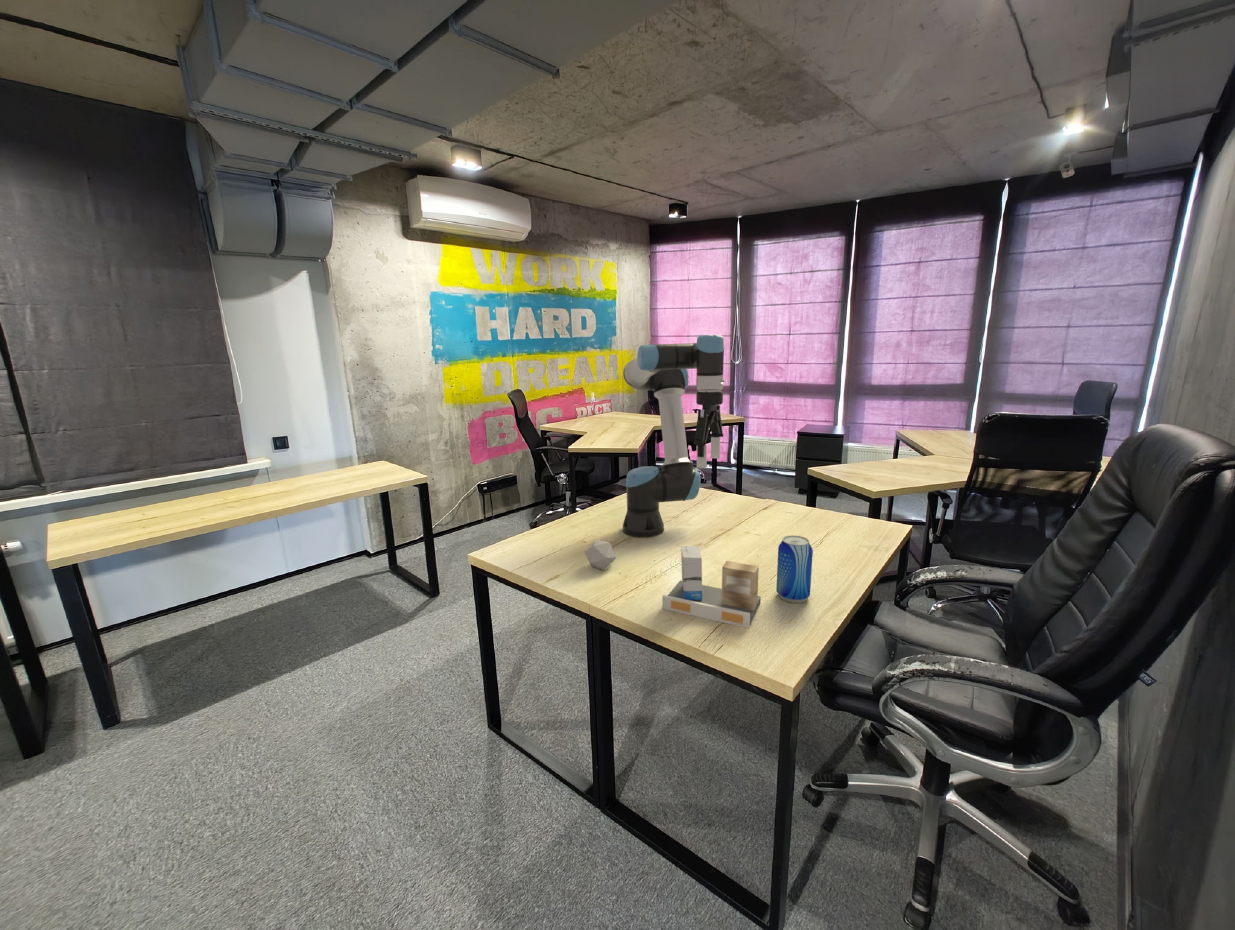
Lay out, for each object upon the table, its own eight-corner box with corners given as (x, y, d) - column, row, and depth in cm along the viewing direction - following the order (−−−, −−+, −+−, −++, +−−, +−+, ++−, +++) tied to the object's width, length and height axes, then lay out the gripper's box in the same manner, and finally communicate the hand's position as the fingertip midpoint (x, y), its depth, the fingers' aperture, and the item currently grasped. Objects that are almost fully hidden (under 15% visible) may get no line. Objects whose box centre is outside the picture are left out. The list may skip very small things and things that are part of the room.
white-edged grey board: (662, 609, 126) (661, 596, 126) (680, 587, 138) (680, 575, 137) (748, 628, 117) (749, 615, 116) (760, 603, 128) (760, 590, 127)
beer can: (771, 590, 135) (773, 535, 131) (801, 588, 135) (804, 533, 132) (783, 605, 126) (786, 547, 123) (815, 603, 127) (819, 545, 124)
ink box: (702, 601, 126) (702, 558, 123) (682, 600, 126) (682, 558, 124) (699, 585, 134) (700, 545, 132) (680, 585, 135) (680, 545, 132)
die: (621, 567, 153) (613, 537, 157) (612, 564, 145) (604, 532, 149) (596, 575, 155) (589, 545, 159) (586, 573, 147) (578, 541, 150)
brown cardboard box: (721, 604, 124) (722, 567, 122) (725, 596, 128) (726, 560, 125) (753, 610, 120) (755, 572, 118) (757, 603, 124) (758, 566, 122)
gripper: (709, 394, 129) (708, 473, 134) (733, 387, 151) (732, 455, 155) (682, 394, 133) (682, 471, 137) (709, 387, 154) (709, 453, 159)
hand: (708, 462), depth 146 cm, fingers open, 13 cm apart
